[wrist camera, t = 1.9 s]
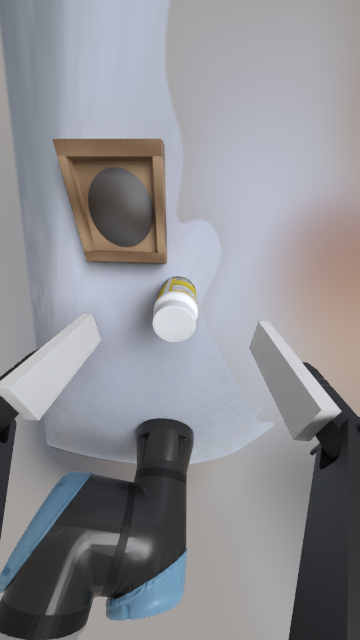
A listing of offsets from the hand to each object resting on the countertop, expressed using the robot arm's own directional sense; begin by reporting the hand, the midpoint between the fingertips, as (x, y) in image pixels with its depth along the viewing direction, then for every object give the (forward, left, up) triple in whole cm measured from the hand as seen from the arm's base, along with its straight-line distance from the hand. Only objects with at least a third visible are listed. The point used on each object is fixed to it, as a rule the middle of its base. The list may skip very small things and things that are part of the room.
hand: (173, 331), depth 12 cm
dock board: (+9, +6, -10) cm, 14 cm away
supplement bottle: (0, 0, -10) cm, 10 cm away
